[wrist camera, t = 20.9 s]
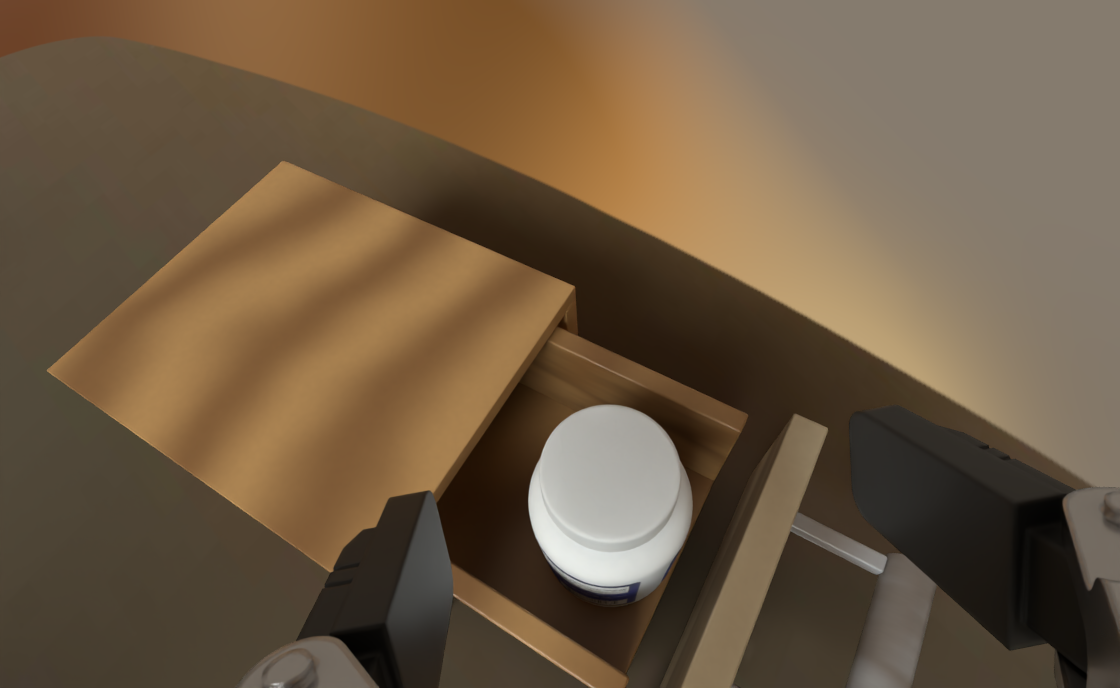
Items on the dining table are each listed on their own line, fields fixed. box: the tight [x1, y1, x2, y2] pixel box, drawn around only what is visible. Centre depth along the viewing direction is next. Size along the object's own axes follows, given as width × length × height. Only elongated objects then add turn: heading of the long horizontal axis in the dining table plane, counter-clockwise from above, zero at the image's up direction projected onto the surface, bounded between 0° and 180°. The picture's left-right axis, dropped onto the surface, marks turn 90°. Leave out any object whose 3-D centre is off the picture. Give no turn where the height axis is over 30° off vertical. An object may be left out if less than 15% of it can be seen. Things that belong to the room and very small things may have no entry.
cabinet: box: [47, 161, 578, 573], centre depth 25 cm, size 16×13×9 cm
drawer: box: [436, 326, 937, 688], centre depth 21 cm, size 20×11×7 cm, turn 60°
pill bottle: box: [528, 405, 693, 607], centre depth 20 cm, size 5×5×9 cm
